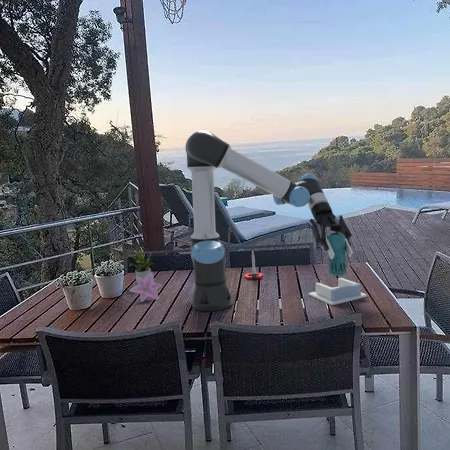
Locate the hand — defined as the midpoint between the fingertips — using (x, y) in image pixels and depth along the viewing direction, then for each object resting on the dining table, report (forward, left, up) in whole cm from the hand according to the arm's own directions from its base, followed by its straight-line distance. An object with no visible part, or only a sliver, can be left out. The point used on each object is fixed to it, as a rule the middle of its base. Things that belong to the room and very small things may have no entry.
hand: (341, 255), depth 157 cm
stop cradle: (0, +4, -16) cm, 16 cm away
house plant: (-59, +71, -16) cm, 93 cm away
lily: (-62, +46, -16) cm, 79 cm away
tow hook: (-13, +47, -16) cm, 51 cm away
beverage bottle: (+1, +4, -9) cm, 10 cm away
